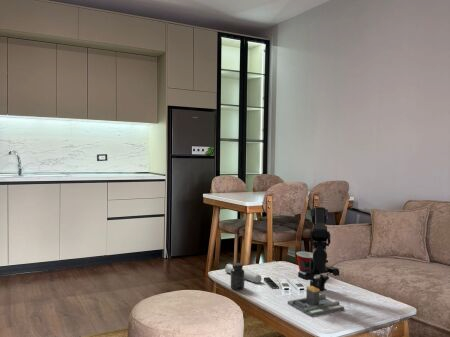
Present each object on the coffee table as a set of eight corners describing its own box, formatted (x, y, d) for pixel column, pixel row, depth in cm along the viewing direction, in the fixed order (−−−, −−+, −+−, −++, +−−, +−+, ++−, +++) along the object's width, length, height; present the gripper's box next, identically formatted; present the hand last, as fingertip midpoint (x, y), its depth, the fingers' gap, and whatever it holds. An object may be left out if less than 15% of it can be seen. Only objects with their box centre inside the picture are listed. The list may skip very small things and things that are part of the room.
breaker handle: (311, 301, 181) (312, 285, 181) (319, 305, 176) (319, 289, 176) (306, 302, 180) (306, 286, 179) (313, 306, 175) (314, 290, 175)
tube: (264, 275, 212) (233, 264, 232) (257, 273, 209) (226, 262, 228) (262, 285, 211) (230, 273, 231) (254, 284, 208) (223, 272, 227)
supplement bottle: (229, 286, 205) (230, 262, 205) (243, 285, 206) (243, 262, 206) (231, 290, 199) (231, 266, 198) (245, 290, 199) (245, 265, 199)
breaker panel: (319, 298, 190) (319, 291, 190) (344, 309, 176) (344, 302, 176) (287, 303, 182) (287, 297, 182) (310, 316, 168) (310, 309, 167)
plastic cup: (311, 279, 219) (312, 256, 218) (292, 276, 224) (293, 254, 224) (318, 274, 228) (319, 252, 228) (300, 271, 234) (300, 250, 233)
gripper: (323, 251, 190) (323, 284, 191) (290, 255, 182) (290, 290, 182) (340, 256, 180) (339, 291, 181) (306, 260, 172) (305, 297, 172)
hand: (318, 292), depth 179 cm, fingers closed
